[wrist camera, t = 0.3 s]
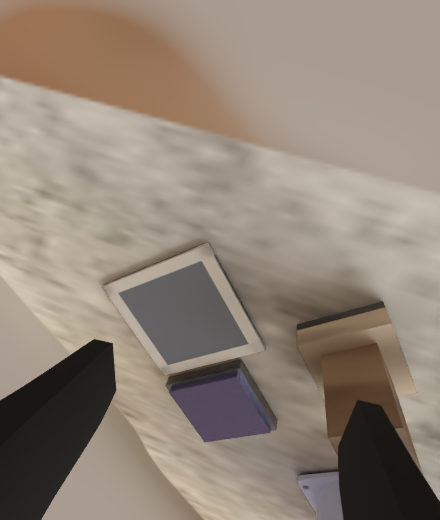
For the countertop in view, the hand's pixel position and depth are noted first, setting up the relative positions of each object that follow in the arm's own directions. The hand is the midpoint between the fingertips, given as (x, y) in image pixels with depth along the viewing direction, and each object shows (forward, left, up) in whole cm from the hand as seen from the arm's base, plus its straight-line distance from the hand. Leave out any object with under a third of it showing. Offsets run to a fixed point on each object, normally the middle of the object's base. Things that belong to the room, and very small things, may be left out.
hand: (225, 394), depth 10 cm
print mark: (-2, +6, -10) cm, 12 cm away
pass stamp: (-8, -3, -10) cm, 13 cm away
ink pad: (-10, +7, -10) cm, 16 cm away
